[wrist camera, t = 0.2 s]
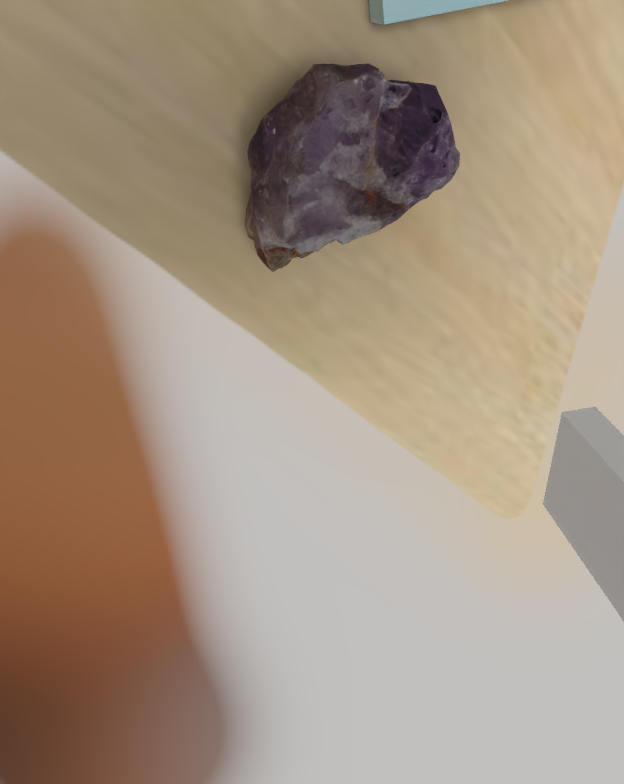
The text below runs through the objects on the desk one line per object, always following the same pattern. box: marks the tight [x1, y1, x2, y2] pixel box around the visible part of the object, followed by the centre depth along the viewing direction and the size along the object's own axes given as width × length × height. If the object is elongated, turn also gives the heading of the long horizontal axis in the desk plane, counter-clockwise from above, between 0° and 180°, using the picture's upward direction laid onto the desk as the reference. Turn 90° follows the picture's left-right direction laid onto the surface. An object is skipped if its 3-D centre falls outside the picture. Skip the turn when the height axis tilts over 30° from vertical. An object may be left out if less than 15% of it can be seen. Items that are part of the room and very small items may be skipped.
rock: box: [245, 64, 460, 272], centre depth 32 cm, size 12×9×10 cm
